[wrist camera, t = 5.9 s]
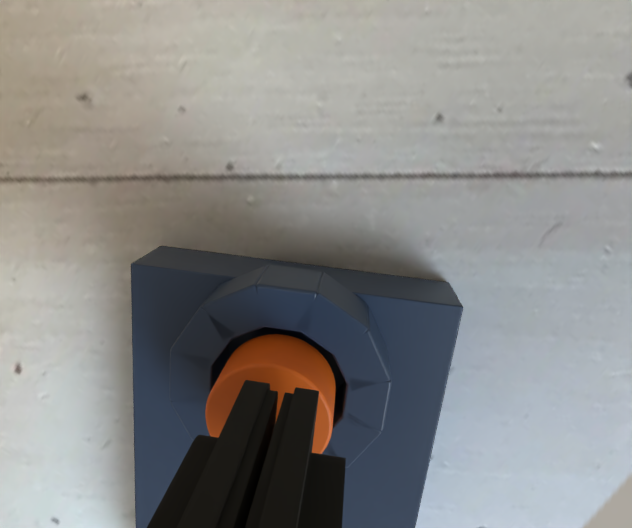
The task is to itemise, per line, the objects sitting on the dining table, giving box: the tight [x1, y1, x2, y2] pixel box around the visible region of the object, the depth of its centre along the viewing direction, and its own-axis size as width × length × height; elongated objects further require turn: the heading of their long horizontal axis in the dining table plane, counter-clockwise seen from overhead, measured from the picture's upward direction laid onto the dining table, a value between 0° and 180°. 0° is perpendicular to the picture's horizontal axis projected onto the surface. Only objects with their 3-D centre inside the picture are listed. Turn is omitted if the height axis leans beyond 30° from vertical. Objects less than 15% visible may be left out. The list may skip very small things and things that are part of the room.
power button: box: [205, 334, 336, 454], centre depth 12 cm, size 3×3×2 cm
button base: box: [131, 246, 463, 528], centre depth 16 cm, size 15×10×4 cm
